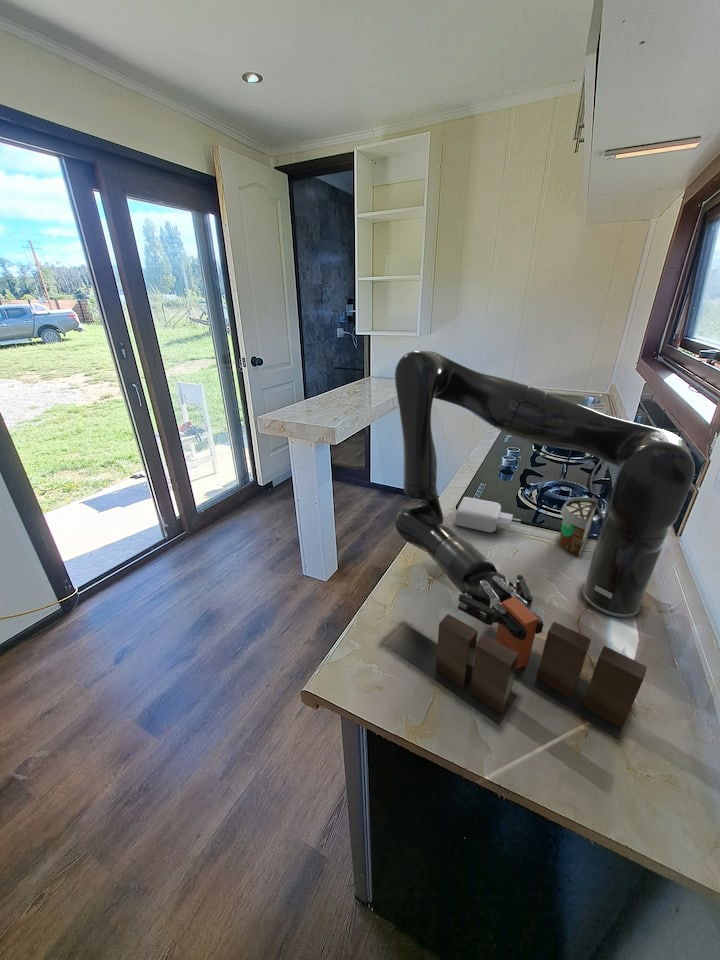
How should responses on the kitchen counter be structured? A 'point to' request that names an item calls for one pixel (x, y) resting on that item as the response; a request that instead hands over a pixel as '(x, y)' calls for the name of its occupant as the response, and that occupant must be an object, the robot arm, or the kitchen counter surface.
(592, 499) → the food container
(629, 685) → the brown notched block
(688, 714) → the kitchen counter surface
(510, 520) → the charger
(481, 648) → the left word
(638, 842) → the kitchen counter surface
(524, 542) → the kitchen counter surface
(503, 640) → the orange upright brick
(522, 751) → the kitchen counter surface
